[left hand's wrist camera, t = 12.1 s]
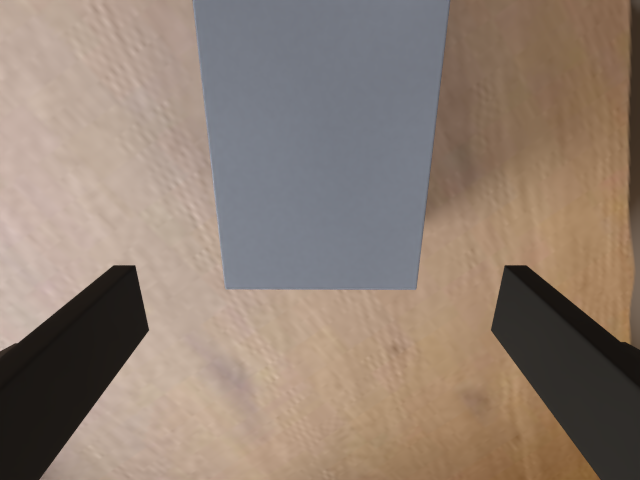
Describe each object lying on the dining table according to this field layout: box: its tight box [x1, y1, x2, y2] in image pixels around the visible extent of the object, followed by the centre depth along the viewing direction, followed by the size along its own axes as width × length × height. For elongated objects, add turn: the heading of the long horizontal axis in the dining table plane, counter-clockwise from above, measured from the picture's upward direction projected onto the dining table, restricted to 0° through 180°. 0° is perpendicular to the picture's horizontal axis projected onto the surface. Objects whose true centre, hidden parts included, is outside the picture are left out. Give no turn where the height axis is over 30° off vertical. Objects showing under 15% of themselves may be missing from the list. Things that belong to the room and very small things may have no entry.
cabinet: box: [193, 0, 450, 290], centre depth 21 cm, size 19×11×8 cm, turn 0°
